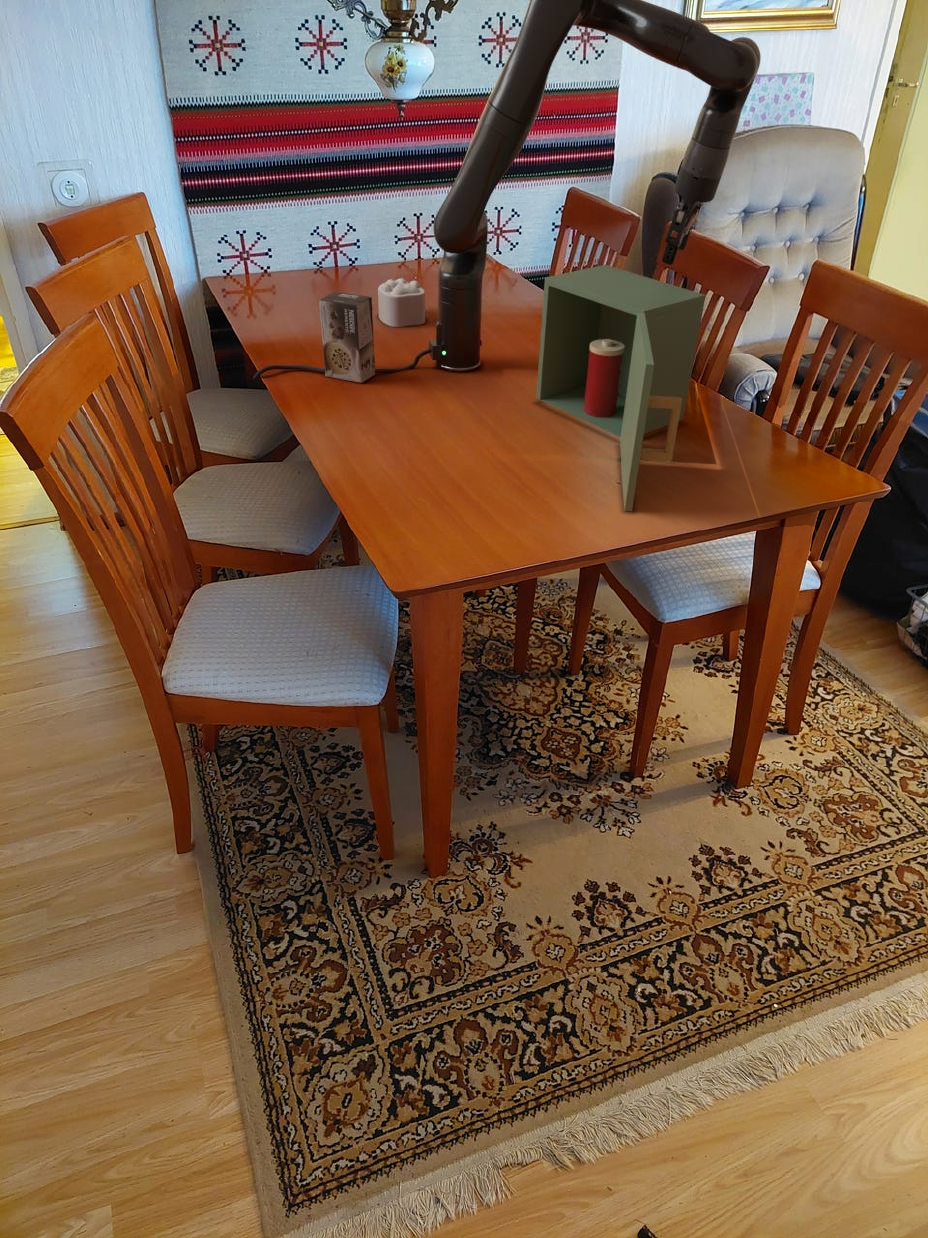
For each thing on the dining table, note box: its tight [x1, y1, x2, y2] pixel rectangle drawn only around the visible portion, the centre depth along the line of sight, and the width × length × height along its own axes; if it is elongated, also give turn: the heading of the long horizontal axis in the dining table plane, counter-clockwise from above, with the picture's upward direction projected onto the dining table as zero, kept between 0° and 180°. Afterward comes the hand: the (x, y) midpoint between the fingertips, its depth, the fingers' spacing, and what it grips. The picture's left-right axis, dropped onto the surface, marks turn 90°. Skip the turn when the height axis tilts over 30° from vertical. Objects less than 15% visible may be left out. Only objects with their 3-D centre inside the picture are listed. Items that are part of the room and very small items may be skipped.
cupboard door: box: [619, 313, 682, 512], centre depth 144 cm, size 6×24×24 cm, turn 174°
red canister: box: [583, 339, 625, 418], centre depth 167 cm, size 6×6×14 cm
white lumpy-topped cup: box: [377, 277, 426, 328], centre depth 216 cm, size 10×13×9 cm
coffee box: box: [318, 291, 376, 384], centre depth 182 cm, size 9×6×16 cm
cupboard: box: [535, 264, 706, 438], centre depth 166 cm, size 16×24×24 cm, turn 39°
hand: (673, 255), depth 171 cm, fingers open, 8 cm apart
